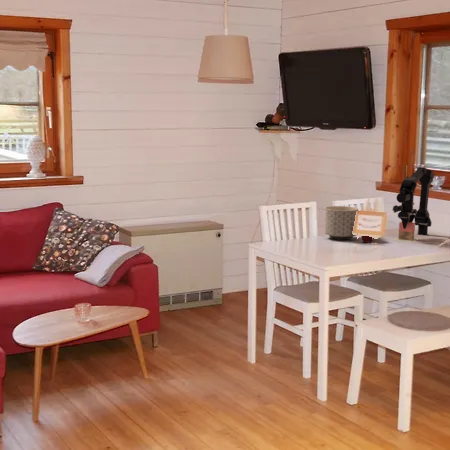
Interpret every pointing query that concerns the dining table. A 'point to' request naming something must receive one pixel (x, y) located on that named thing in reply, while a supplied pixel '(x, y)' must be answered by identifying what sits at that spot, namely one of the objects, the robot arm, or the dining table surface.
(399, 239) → the plate
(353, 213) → the planter
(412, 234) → the brick walnut
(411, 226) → the brick red
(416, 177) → the robot arm
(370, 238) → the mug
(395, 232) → the dining table surface
